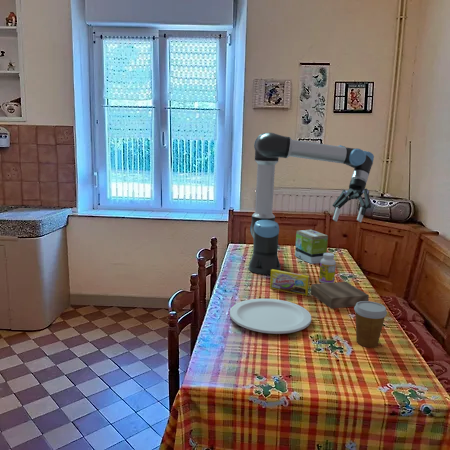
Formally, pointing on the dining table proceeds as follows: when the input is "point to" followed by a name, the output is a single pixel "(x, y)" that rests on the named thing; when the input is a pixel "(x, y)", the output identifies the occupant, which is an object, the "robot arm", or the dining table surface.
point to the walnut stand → (338, 294)
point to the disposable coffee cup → (369, 322)
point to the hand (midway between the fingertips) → (346, 220)
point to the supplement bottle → (327, 268)
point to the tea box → (310, 245)
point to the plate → (270, 316)
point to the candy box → (289, 282)
